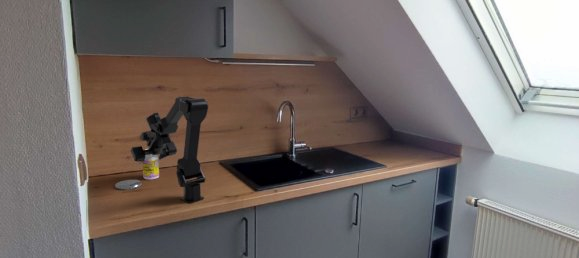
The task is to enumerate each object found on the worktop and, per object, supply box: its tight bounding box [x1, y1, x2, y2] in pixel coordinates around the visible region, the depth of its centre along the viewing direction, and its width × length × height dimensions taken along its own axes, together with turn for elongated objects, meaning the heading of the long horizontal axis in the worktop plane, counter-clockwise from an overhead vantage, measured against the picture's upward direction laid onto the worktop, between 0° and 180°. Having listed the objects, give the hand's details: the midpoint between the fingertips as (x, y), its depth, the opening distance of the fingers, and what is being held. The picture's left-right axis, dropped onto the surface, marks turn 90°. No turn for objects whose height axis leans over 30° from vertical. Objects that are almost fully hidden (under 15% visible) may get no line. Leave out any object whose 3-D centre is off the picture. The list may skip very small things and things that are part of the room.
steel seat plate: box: [114, 179, 142, 191], centre depth 155 cm, size 10×10×1 cm
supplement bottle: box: [142, 148, 160, 181], centre depth 164 cm, size 7×7×13 cm
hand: (149, 160), depth 165 cm, fingers open, 9 cm apart
